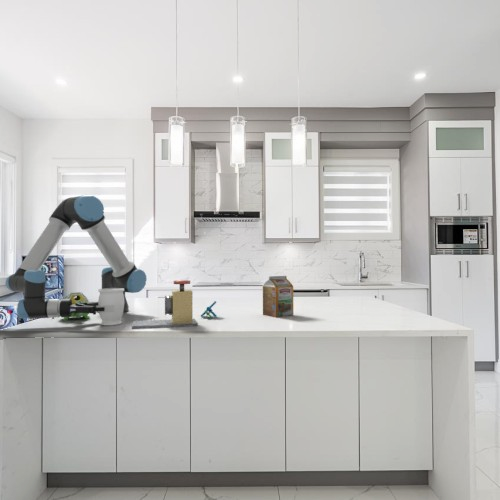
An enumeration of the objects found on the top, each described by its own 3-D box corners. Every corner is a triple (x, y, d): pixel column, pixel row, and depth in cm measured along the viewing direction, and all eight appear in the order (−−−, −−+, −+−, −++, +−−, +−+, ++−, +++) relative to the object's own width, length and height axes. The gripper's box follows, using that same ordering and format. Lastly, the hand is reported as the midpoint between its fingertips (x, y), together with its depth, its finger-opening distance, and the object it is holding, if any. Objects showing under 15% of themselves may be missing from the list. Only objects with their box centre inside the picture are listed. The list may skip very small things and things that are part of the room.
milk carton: (275, 317, 182) (275, 276, 183) (262, 314, 191) (262, 275, 191) (293, 315, 188) (293, 276, 188) (280, 313, 197) (279, 275, 197)
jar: (115, 326, 159) (115, 289, 159) (93, 325, 161) (93, 289, 162) (128, 322, 170) (129, 287, 170) (107, 321, 172) (107, 287, 172)
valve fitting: (133, 323, 167) (133, 280, 167) (194, 320, 173) (194, 279, 174) (131, 328, 154) (132, 282, 155) (197, 325, 161) (197, 281, 161)
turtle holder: (65, 323, 168) (65, 295, 168) (58, 318, 183) (58, 292, 183) (95, 320, 175) (95, 294, 175) (86, 315, 190) (86, 291, 190)
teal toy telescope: (203, 311, 191) (216, 297, 189) (211, 320, 190) (225, 306, 188) (196, 318, 180) (210, 303, 178) (205, 327, 180) (219, 312, 178)
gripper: (67, 313, 173) (117, 311, 178) (53, 322, 148) (111, 320, 153) (67, 296, 173) (117, 294, 178) (53, 302, 149) (112, 300, 154)
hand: (115, 306), depth 166 cm, fingers open, 13 cm apart
